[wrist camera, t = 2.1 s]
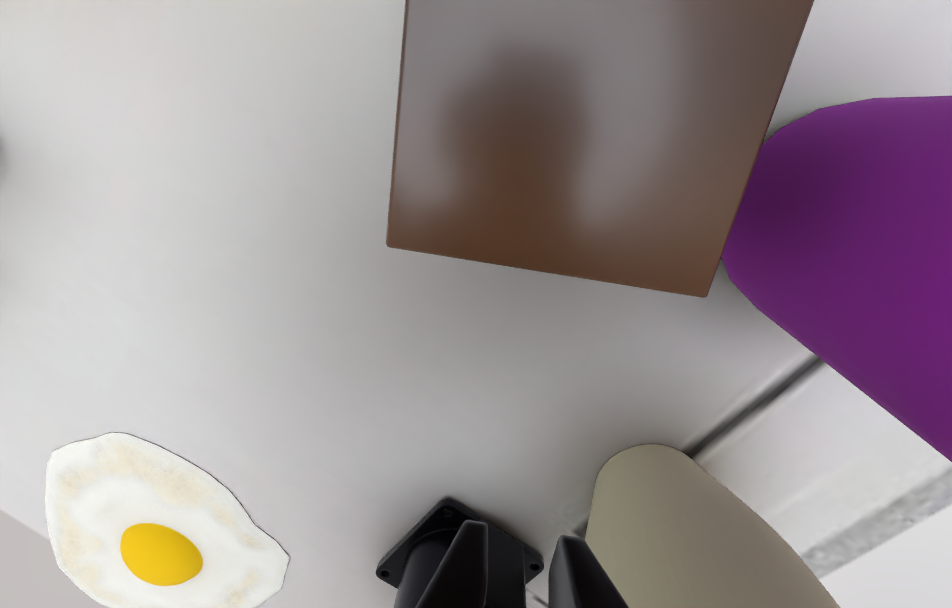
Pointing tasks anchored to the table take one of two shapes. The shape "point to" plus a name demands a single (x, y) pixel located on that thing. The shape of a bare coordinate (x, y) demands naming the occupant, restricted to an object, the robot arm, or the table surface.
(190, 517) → the cracked egg
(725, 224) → the brown cube
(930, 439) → the beverage can
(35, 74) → the table surface
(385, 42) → the table surface
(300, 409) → the table surface
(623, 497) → the mug
